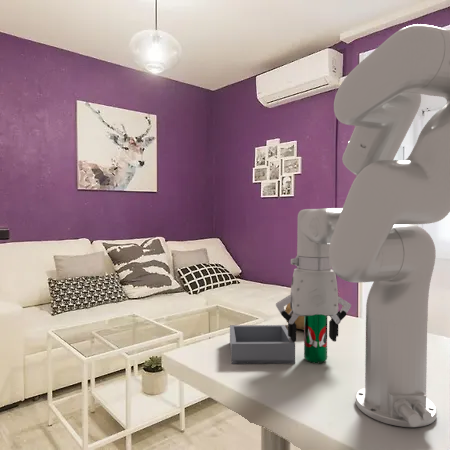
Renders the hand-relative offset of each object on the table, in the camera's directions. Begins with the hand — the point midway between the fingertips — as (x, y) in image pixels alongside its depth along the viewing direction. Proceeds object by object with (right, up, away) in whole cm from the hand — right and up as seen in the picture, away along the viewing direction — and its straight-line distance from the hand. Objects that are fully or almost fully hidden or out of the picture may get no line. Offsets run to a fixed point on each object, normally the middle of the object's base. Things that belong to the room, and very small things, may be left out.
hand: (312, 339), depth 89 cm
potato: (+2, -4, +24) cm, 24 cm away
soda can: (+1, -5, 0) cm, 5 cm away
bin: (-12, -4, +4) cm, 13 cm away
